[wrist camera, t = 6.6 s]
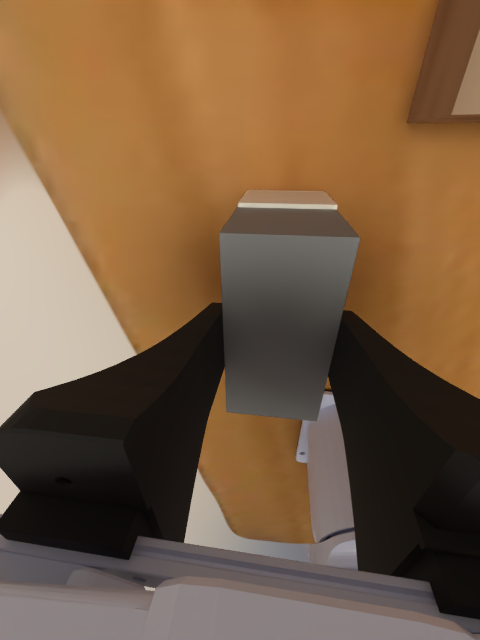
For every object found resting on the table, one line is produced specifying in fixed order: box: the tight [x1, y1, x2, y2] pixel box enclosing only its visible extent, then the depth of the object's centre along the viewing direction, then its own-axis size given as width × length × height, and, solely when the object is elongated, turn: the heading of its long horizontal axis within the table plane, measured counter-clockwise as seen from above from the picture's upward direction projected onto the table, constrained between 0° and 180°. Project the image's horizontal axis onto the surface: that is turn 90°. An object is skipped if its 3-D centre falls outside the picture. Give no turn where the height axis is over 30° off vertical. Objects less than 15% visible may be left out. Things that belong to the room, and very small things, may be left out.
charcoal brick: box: [219, 207, 360, 421], centre depth 12 cm, size 8×4×4 cm, turn 0°
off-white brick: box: [238, 190, 338, 210], centre depth 15 cm, size 8×4×4 cm, turn 0°
